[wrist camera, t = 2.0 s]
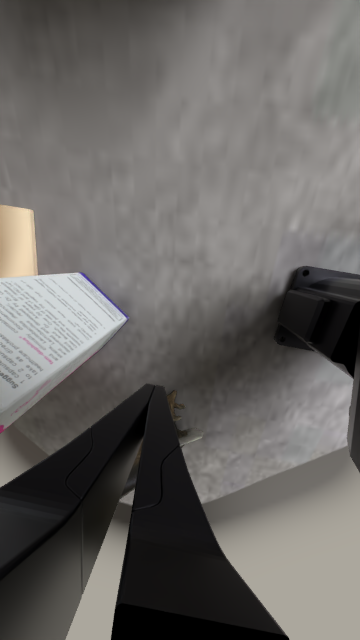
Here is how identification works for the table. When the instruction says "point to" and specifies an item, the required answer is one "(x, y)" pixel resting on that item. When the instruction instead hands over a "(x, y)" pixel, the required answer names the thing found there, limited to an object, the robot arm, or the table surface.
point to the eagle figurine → (183, 437)
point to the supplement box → (48, 335)
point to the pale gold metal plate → (17, 242)
